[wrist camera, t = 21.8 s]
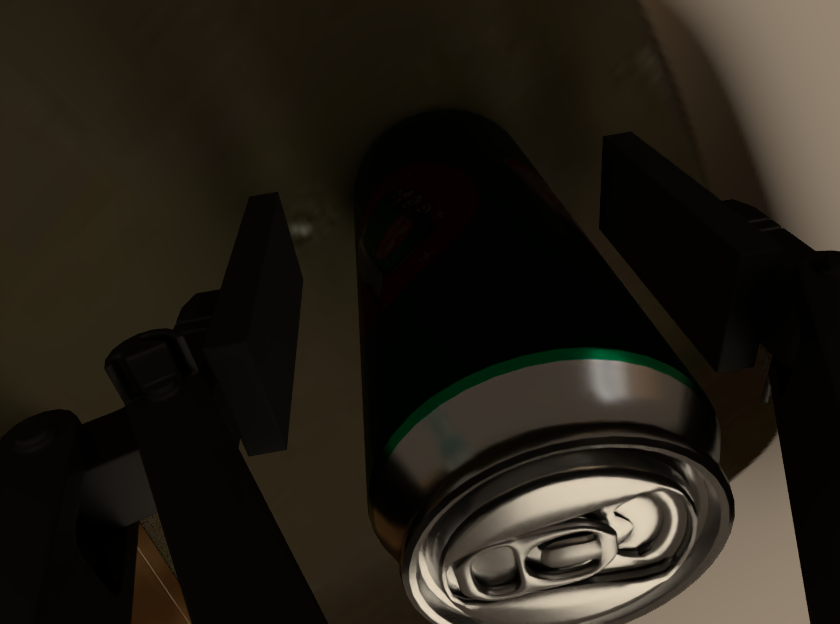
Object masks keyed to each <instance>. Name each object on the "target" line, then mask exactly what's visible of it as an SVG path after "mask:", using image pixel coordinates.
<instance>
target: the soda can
mask: <svg viewBox="0 0 840 624" xmlns="http://www.w3.org/2000/svg"><path fill="white" fill-rule="evenodd" d="M353 200H354V222H355V244H356V266H357V288H358V310H359V331H360V353H361V375H362V397H363V419H364V441H365V463H366V485H367V503H368V514H369V517H370V520H371V524H372V527H373V530H374V532H375V534H376V535H377V537H378V538H379V540H380V542H381V543H382V545H383V547H384V548H385V549H386V550H387V551H388V552H389V553H390V554H391V555H392V556H393V558H394V559H395V560H396V561H397V562H398V563H399V572H400V577H401V580H402V583H403V587H404V590H405V592H406V594H407V596H408V598H409V599H410V601H411V603H412V604H413V606H414V607H415V608H416V609H417V610H418V611H419V612H420V613H421V614H422V615H423V616H424V617H425V618H426V619H427V620H429V621H430V622H432V623H433V624H625V623H628V622H630V621H632V620H634V619H637V618H639V617H641V616H643V615H646V614H647V613H649V612H651V611H653V610H654V609H656V608H658V607H660V606H662V605H664V604H665V603H667V602H668V601H670V600H671V599H673V598H674V597H676V596H677V595H679V594H680V593H681V592H683V591H684V590H685V589H687V588H688V587H689V586H690V585H691V584H693V583H694V582H695V581H696V580H697V579H698V578H699V577H700V576H701V575H702V574H703V573H704V572H705V571H706V570H707V569H708V568H709V567H710V566H711V565H712V564H713V562H714V561H715V559H716V558H717V557H718V555H719V554H720V552H721V551H722V550H723V548H724V546H725V544H726V542H727V539H728V537H729V535H730V533H731V529H732V525H733V521H734V517H735V513H734V512H735V510H734V498H733V494H732V491H731V488H730V484H729V481H728V478H727V476H726V475H725V473H724V472H723V470H722V469H721V467H720V465H719V458H720V448H721V446H720V427H719V423H718V420H717V416H716V412H715V409H714V408H713V406H712V404H711V403H710V401H709V399H708V397H707V396H706V394H705V392H704V391H703V390H702V388H701V387H700V386H699V384H698V383H697V382H696V380H695V379H694V378H693V376H692V375H691V374H690V372H689V371H688V370H687V368H686V367H685V366H684V364H683V363H682V362H681V360H680V359H679V358H678V357H677V355H676V354H675V353H674V351H673V350H672V349H671V347H670V346H669V345H668V343H667V342H666V341H665V339H664V338H663V337H662V335H661V334H660V333H659V331H658V330H657V329H656V327H655V326H654V325H653V323H652V322H651V321H650V319H649V318H648V317H647V315H646V314H645V313H644V311H643V310H642V309H641V308H640V306H639V305H638V304H637V302H636V301H635V300H634V298H633V297H632V296H631V294H630V293H629V292H628V290H627V289H626V288H625V286H624V285H623V284H622V282H621V281H620V280H619V278H618V277H617V276H616V274H615V273H614V272H613V270H612V269H611V268H610V266H609V265H608V264H607V263H606V261H605V260H604V259H603V257H602V256H601V255H600V253H599V252H598V251H597V249H596V248H595V247H594V245H593V244H592V243H591V241H590V240H589V239H588V237H587V236H586V235H585V233H584V232H583V231H582V229H581V228H580V227H579V225H578V224H577V223H576V221H575V220H574V219H573V217H572V216H571V215H570V214H569V212H568V211H567V210H566V208H565V207H564V206H563V204H562V203H561V202H560V200H559V199H558V198H557V196H556V195H555V194H554V192H553V191H552V190H551V188H550V187H549V186H548V184H547V183H546V182H545V180H544V179H543V178H542V176H541V175H540V174H539V172H538V171H537V170H536V168H535V167H534V166H533V165H532V163H531V162H530V161H529V159H528V158H527V157H526V155H525V154H524V153H523V151H522V150H521V149H520V147H519V146H518V145H517V143H516V142H515V141H514V140H513V139H512V137H511V136H510V135H509V134H508V133H507V132H506V131H505V130H504V129H502V128H501V127H500V126H498V125H497V124H496V123H495V122H493V121H491V120H489V119H487V118H485V117H483V116H481V115H477V114H474V113H471V112H468V111H461V110H454V109H447V110H434V111H428V112H423V113H420V114H417V115H415V116H412V117H409V118H407V119H405V120H403V121H401V122H400V123H398V124H396V125H394V126H393V127H392V128H391V129H389V130H388V131H387V132H385V133H384V134H383V135H382V136H381V137H380V138H379V139H378V140H377V141H376V142H375V143H374V144H373V146H372V147H371V149H370V150H369V151H368V153H367V154H366V156H365V157H364V160H363V162H362V164H361V166H360V168H359V170H358V174H357V177H356V181H355V186H354V195H353Z"/></svg>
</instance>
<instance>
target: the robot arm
mask: <svg viewBox="0 0 840 624" xmlns="http://www.w3.org/2000/svg"><path fill="white" fill-rule="evenodd" d="M599 229H600V230H601V231H602V233H603V234H604V235H605V236H606V238H607V239H608V240H609V241H610V242H611V244H612V245H613V246H614V247H615V249H616V250H617V251H618V252H619V254H620V255H621V256H622V257H623V258H624V260H625V261H626V262H627V263H628V265H629V266H630V267H631V268H632V270H633V271H634V272H635V273H636V274H637V276H638V277H639V278H640V279H641V281H642V282H643V283H644V284H645V286H646V287H647V288H648V289H649V290H650V292H651V293H652V294H653V295H654V297H655V298H656V299H657V300H658V302H659V303H660V304H661V305H662V306H663V308H664V309H665V310H666V311H667V313H668V314H669V315H670V316H671V318H672V319H673V320H674V321H675V322H676V324H677V325H678V326H679V327H680V329H681V330H682V331H683V332H684V334H685V335H686V336H687V337H688V338H689V340H690V341H691V342H692V343H693V345H694V346H695V347H696V348H697V350H698V351H699V352H700V353H701V354H702V356H703V357H704V358H705V359H706V361H707V362H708V363H709V364H710V366H711V367H712V368H713V369H714V370H715V372H716V373H721V372H727V371H732V370H738V369H743V368H749V367H754V363H755V359H756V355H757V351H758V347H759V343H761V344H762V345H763V346H764V347H765V348H766V349H767V350H768V351H769V352H770V353H771V354H772V355H773V356H772V360H771V364H770V368H769V372H768V375H767V379H766V383H765V387H764V391H763V394H762V399H761V403H767V402H768V399H769V396H770V395H771V394H772V398H773V404H774V410H775V416H776V422H777V428H778V434H779V440H780V446H781V451H782V458H783V464H784V469H785V475H786V481H787V487H788V493H789V499H790V505H791V511H792V517H793V523H794V529H795V535H796V541H797V547H798V552H799V559H800V564H801V570H802V577H803V583H804V589H805V594H806V601H807V606H808V612H809V618H810V624H840V251H814V250H813V249H812V248H811V247H809V246H808V245H806V244H805V243H804V242H802V241H801V240H799V239H798V238H797V237H795V236H794V235H793V234H791V233H790V232H788V231H787V230H785V229H784V228H782V229H781V226H780V225H779V224H777V223H776V222H774V221H773V220H769V217H767V216H766V215H765V214H763V213H762V212H760V211H759V210H758V209H756V208H755V207H753V206H750V205H747V204H744V203H742V202H739V201H736V200H733V199H731V200H725V201H721V200H720V199H718V198H717V197H716V196H715V195H713V194H712V193H711V192H709V191H708V190H707V189H705V188H704V187H703V186H701V185H700V184H699V183H698V182H696V181H695V180H694V179H692V178H691V177H690V176H688V175H687V174H686V173H684V172H683V171H682V170H680V169H679V168H678V167H677V166H675V165H674V164H673V163H671V162H670V161H669V160H667V159H666V158H665V157H663V156H662V155H661V154H660V153H658V152H657V151H656V150H654V149H653V148H652V147H650V146H649V145H648V144H646V143H645V142H644V141H643V140H641V139H640V138H639V137H637V136H636V135H635V134H633V133H632V132H626V133H621V134H615V135H609V136H603V149H602V172H601V196H600V219H599ZM302 287H303V277H302V273H301V270H300V267H299V263H298V260H297V256H296V253H295V249H294V246H293V242H292V239H291V235H290V232H289V228H288V225H287V221H286V218H285V215H284V211H283V208H282V204H281V201H280V197H279V194H278V192H274V193H269V194H263V195H257V196H251V197H249V200H248V203H247V206H246V209H245V212H244V216H243V219H242V222H241V225H240V228H239V232H238V235H237V238H236V241H235V244H234V247H233V251H232V254H231V257H230V260H229V263H228V267H227V270H226V273H225V276H224V279H223V283H222V286H221V289H220V290H214V291H208V292H202V293H197V294H195V295H194V296H193V297H192V298H191V299H190V300H189V301H188V302H187V303H186V304H185V305H184V306H183V307H182V309H181V311H180V314H179V316H178V319H177V321H176V323H177V325H175V327H174V329H173V330H172V329H167V328H165V329H154V330H150V331H146V332H143V333H140V334H137V335H135V336H133V337H131V338H129V339H127V340H125V341H123V342H122V343H121V344H120V345H118V346H117V347H116V348H115V349H113V350H112V351H111V353H110V354H109V355H108V357H107V358H106V360H105V367H104V369H105V371H106V372H107V374H108V376H109V378H110V379H111V381H112V383H113V385H114V386H115V388H116V390H117V392H118V393H119V395H120V397H121V399H122V400H123V402H124V404H125V407H123V408H121V409H119V410H117V411H115V412H113V413H110V414H108V415H105V416H102V417H100V418H97V419H95V420H92V421H89V422H87V423H84V424H82V423H81V422H80V420H79V419H78V417H77V416H76V415H75V414H74V413H72V412H71V411H69V410H61V409H57V410H51V411H46V412H42V413H40V414H37V415H35V416H32V417H29V418H27V419H25V420H23V422H20V423H19V424H17V425H16V426H14V427H13V428H12V429H11V430H10V431H9V432H8V433H7V434H6V435H4V436H3V437H2V438H1V440H0V624H131V621H132V608H133V596H134V584H135V571H136V559H137V546H138V534H139V522H140V520H141V519H144V518H146V517H148V516H150V515H153V514H155V513H157V512H158V515H159V518H160V522H161V525H162V528H163V531H164V535H165V538H166V541H167V545H168V548H169V551H170V554H171V558H172V561H173V564H174V568H175V571H176V574H177V577H178V581H179V584H180V587H181V591H182V594H183V597H184V600H185V604H186V607H187V610H188V614H189V617H190V620H191V623H192V624H328V622H327V620H326V618H325V617H324V615H323V613H322V611H321V609H320V607H319V605H318V603H317V601H316V599H315V597H314V595H313V593H312V591H311V589H310V587H309V585H308V583H307V581H306V579H305V577H304V576H303V574H302V572H301V570H300V568H299V566H298V564H297V562H296V560H295V558H294V556H293V554H292V552H291V550H290V548H289V546H288V544H287V542H286V540H285V538H284V536H283V534H282V533H281V531H280V529H279V527H278V525H277V523H276V521H275V519H274V517H273V515H272V513H271V511H270V509H269V507H268V505H267V503H266V501H265V499H264V497H263V495H262V493H261V492H260V490H259V488H258V486H257V484H256V482H255V480H254V478H253V476H252V474H251V472H250V470H249V468H248V466H247V464H246V462H245V460H244V458H243V456H242V454H241V452H240V450H239V449H238V447H239V442H240V438H241V440H242V442H243V445H244V447H245V449H246V451H247V454H248V456H254V455H260V454H265V453H271V452H277V451H282V450H287V441H288V431H289V420H290V410H291V400H292V390H293V379H294V369H295V359H296V349H297V339H298V328H299V318H300V308H301V298H302Z"/></svg>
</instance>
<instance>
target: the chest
mask: <svg viewBox="0 0 840 624" xmlns="http://www.w3.org/2000/svg"><path fill="white" fill-rule="evenodd" d="M131 624H192V623H191V620H190V617H189V614H188V610H187V607H186V604H185V600H184V597H183V594H182V591H181V587H180V584H179V582H178V581H177V579H176V578H175V576H174V575H173V573H172V571H171V570H170V568H169V567H168V565H167V564H166V562H165V561H164V559H163V558H162V556H161V555H160V553H159V552H158V550H157V548H156V547H155V545H154V544H153V542H152V541H151V539H150V538H149V536H148V535H147V533H146V532H145V530H144V528H143V527H142V525H141V524H140V522H139V534H138V546H137V559H136V571H135V584H134V596H133V608H132V621H131Z"/></svg>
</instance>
